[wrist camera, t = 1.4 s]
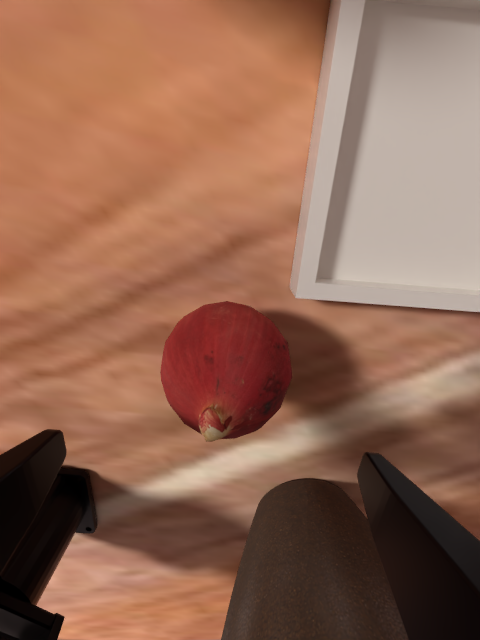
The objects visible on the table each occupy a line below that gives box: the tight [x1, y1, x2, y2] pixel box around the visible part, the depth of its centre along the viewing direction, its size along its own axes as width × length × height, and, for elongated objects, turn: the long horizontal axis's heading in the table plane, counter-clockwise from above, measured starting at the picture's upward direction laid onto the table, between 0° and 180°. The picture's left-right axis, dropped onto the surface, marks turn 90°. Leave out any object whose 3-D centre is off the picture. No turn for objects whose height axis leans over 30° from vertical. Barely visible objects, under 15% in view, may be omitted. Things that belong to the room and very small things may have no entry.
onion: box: [161, 301, 292, 442], centre depth 12 cm, size 6×6×8 cm
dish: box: [290, 0, 480, 312], centre depth 12 cm, size 12×12×2 cm
